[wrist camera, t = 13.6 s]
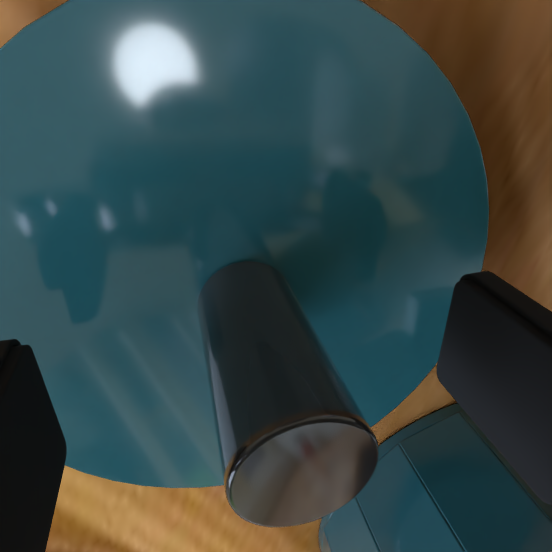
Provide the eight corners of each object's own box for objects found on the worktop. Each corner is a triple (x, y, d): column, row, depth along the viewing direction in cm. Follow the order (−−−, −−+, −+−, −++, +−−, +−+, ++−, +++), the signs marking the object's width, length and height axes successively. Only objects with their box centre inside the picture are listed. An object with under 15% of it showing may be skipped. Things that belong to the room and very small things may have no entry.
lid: (520, -21, 10) (954, -104, 5) (425, 416, 18) (553, 590, 12) (-214, -36, 7) (-1506, -343, 2) (34, 501, 14) (-44, 791, 9)
